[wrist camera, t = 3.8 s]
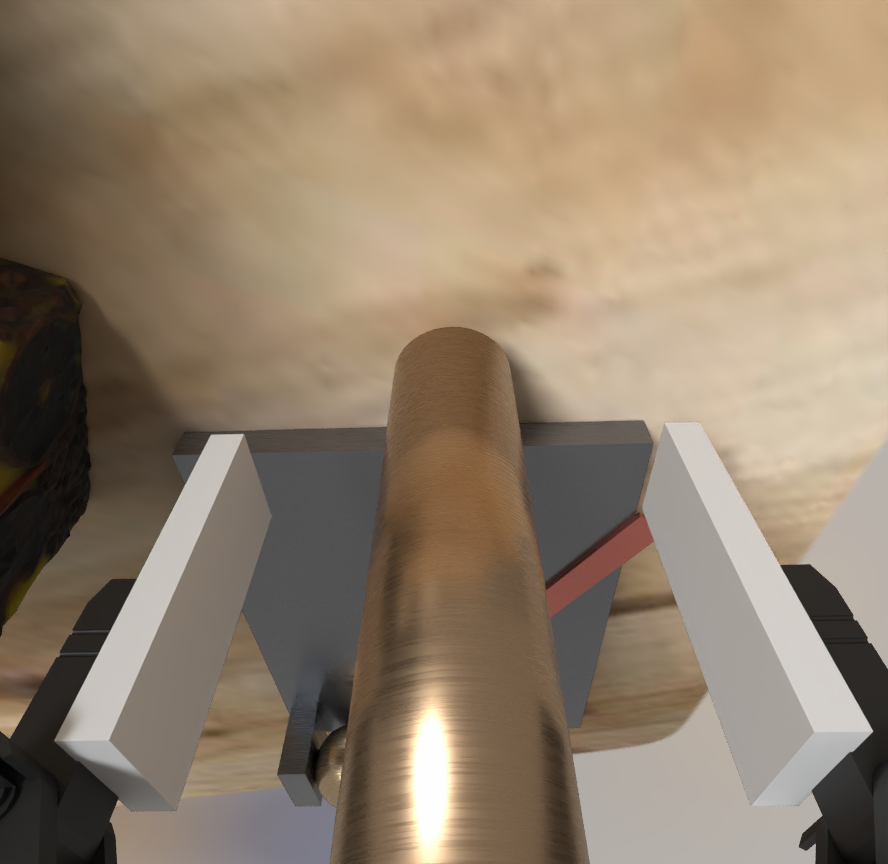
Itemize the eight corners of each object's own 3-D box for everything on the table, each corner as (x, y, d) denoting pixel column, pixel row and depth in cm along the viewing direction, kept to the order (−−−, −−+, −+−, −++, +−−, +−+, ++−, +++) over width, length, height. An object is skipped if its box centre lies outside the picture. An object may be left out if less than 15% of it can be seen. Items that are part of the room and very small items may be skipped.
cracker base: (184, 432, 20) (90, 595, 15) (680, 419, 19) (767, 583, 14) (307, 723, 34) (282, 857, 29) (594, 719, 34) (621, 855, 28)
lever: (363, 329, 15) (189, 1066, 5) (539, 324, 15) (734, 1067, 5) (420, 733, 31) (407, 1110, 21) (507, 732, 31) (538, 1111, 21)
